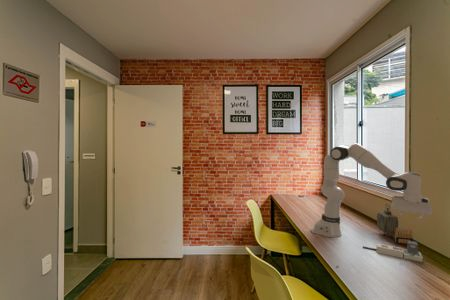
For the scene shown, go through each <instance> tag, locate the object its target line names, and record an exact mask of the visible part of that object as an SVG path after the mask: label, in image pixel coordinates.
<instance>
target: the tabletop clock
mask: <svg viewBox="0 0 450 300" xmlns="http://www.w3.org/2000/svg"><path fill="white" fill-rule="evenodd" d="M387 206H388V207H387ZM376 226H377V229H379V230H380V231H381V232H383V233H382V235H383V236H386V234H391V236H392V239H394V240H395V236H394V234H395V233H396V228H398V229H399V217H398V215H396V214H395V213H393V212H392V211H391V206H390V204H388V203H386V204H385V209H384V210H383V211H379V212H377V214H376Z"/></svg>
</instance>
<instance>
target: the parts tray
mask: <svg viewBox="0 0 450 300" xmlns="http://www.w3.org/2000/svg"><path fill="white" fill-rule="evenodd" d="M402 250H403V259H406V260H410V261H413V262H414V261H415V262H419V263H423V259H424V258H423V255H422V253H421V251H418V254H415V256H412V255H409V253H408V251H407V248H402Z"/></svg>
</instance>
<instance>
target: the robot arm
mask: <svg viewBox="0 0 450 300" xmlns="http://www.w3.org/2000/svg"><path fill="white" fill-rule="evenodd" d="M349 158H352V159H353V160H354V161H355V162H357V164H359V165H360V166H362V167H363V168H366V169H371V170H374V171H376V172H378V173H379V174H381V176H383V177H384V178H385V179H386V181H385V184H386V187H387V188H388V189H389V190H391V191H396V192H397V191H402V192H403V193H402V195H393V196H392V197H391V202H392V203H391V209H392V210H394V211H397V213H398V214H399V218H402V219H403V218H404V215H403V214H402V212H406V213H414V214H420V215H421V216H418V217H417V219H418V221H420V222H422V219H423V218H424V217H425V215H428V216H431V215H432V214H433V206H432V204H431V200H430V198H428V197H426V196H424V195H423V196H422V193H421V189H422V176H421V175H420V174H419V173H416V172H413V171H406V172H403V173H401V174H399V173H397V172H395V171H393V170H391V169H390V168H389V167H387V166H386V165H385V164H384V163H382V162H381V161H380V160H379V158H377V157H376V156H375V154H373V153H372V152H371V151H370V150H369V149H368V148H366V147H365V146H364V145H361V144H359V143H353V144H351V145H345V144H344V145H343V144H342V145H337V146H334V147H333V148H331V149H330V153H329V154H326V155H325V156H324V159H323V182H322V185H321V187H320V191H321V193H322V195H323V196H324V197H326V198H327V199H326V203H325V204H324V210H323V211H324V212H323V213H322V214H321V219H319V220H317V221H316V222H314V225H313V226H312V227H311V230H310V231H311V233H312V234H316V235H320V236H324V237H328V238H336V237H337V238H338V237H341V236H342V232H341V231H342V230H341V226H340V224H341V216H340V213H341V212H340V210H341V209H340V208H341V204H342V202H343V200H344V199H345V196H346V194H345V191H344V190H343V189H342V188H341V187H339V186H337V183H338V180H340V165H339V164H340V161H344V160H347V159H349Z"/></svg>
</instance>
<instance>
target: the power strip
mask: <svg viewBox="0 0 450 300" xmlns="http://www.w3.org/2000/svg"><path fill="white" fill-rule="evenodd" d="M375 247H376V248H373V247H369V246H364V245H363V246H362V249H367V250H371V251H376V253H378V254H382V255H383V254H384V255H387V256H392V257H398V258H401V259H404V257H403V250H402V249H403V247H400V246H398V247H397V246H393V245H389V244H383V243H378V242H376V246H375Z"/></svg>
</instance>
